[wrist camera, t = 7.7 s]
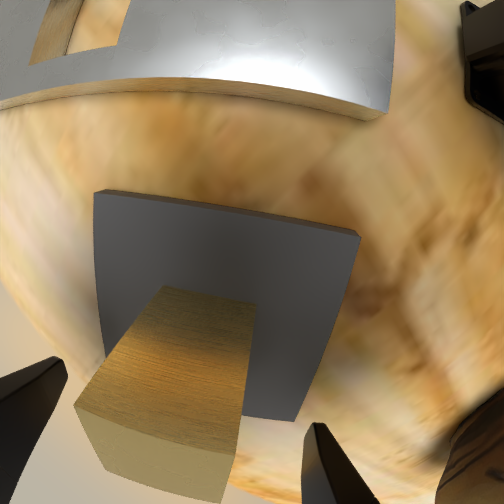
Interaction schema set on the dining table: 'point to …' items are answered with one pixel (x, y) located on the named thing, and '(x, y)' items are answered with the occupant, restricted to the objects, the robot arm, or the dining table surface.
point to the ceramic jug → (476, 458)
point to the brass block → (173, 394)
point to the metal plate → (208, 52)
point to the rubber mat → (228, 280)
